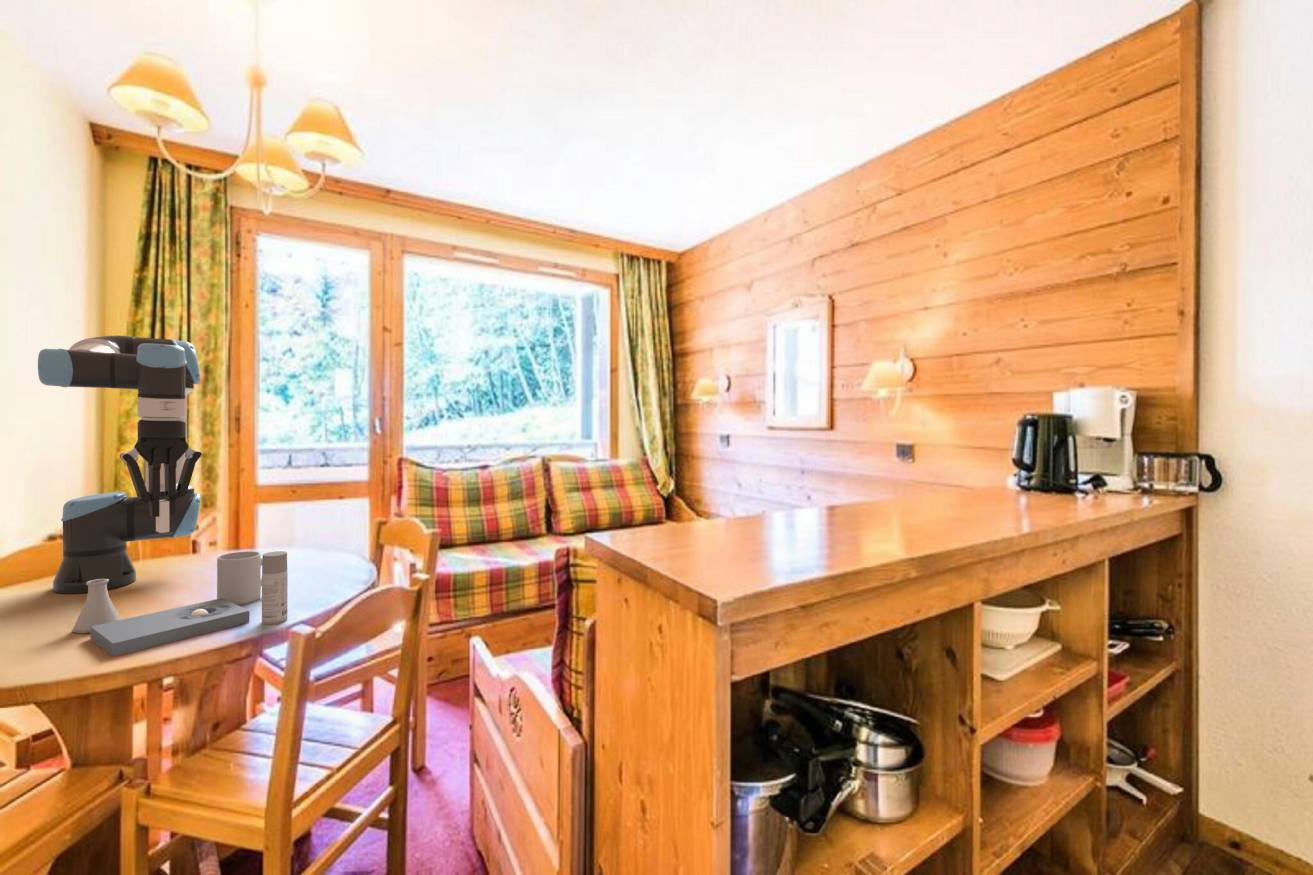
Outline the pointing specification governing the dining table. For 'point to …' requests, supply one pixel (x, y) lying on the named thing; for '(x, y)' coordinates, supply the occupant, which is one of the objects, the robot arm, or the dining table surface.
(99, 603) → the flask
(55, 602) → the dining table surface
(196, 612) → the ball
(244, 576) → the mug
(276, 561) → the container
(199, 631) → the plate
